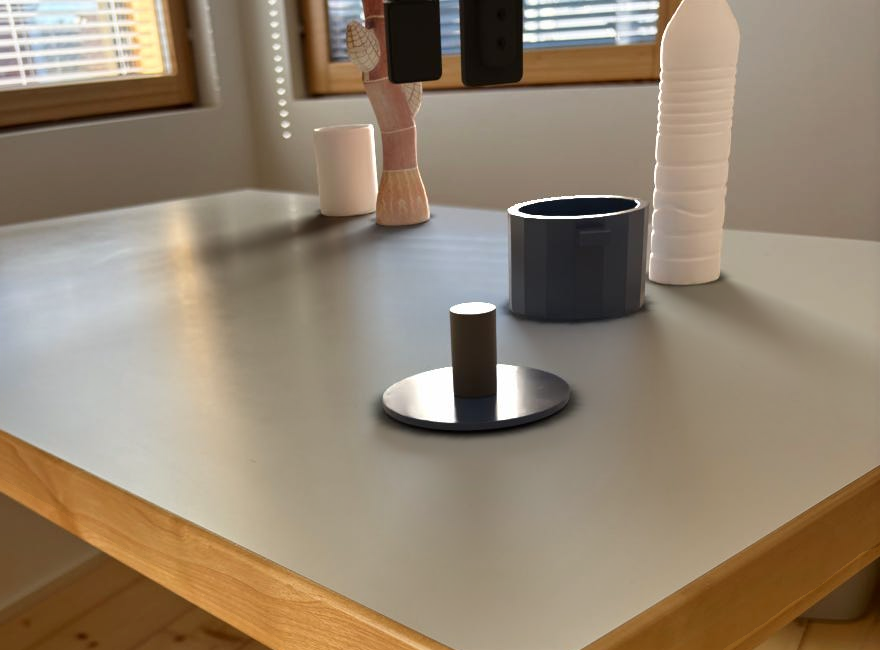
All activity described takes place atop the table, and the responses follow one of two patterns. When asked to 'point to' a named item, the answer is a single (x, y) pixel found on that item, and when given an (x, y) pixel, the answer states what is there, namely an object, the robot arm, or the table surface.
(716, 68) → the water bottle
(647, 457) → the table surface
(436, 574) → the table surface
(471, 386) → the lid
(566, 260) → the pot
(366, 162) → the mug
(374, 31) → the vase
